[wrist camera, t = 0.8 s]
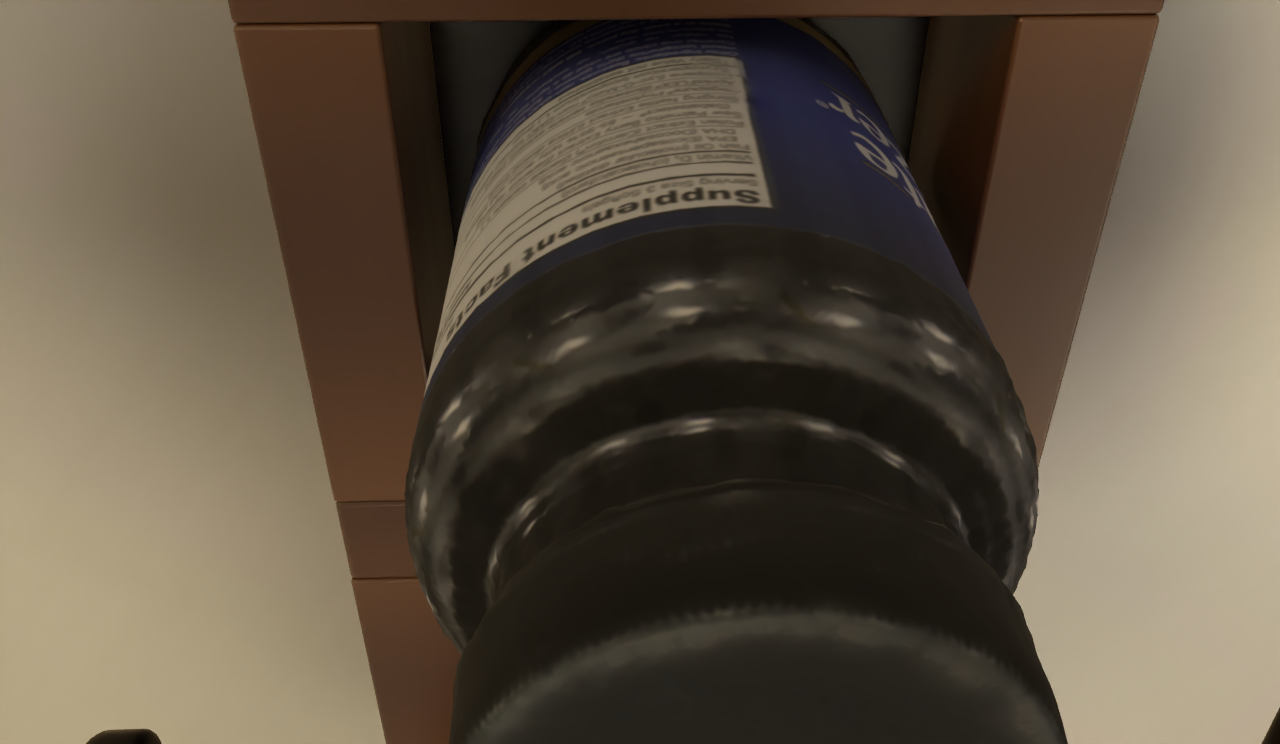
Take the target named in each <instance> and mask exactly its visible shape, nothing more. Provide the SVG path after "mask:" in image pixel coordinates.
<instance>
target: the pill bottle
mask: <svg viewBox="0 0 1280 744" xmlns="http://www.w3.org/2000/svg"><path fill="white" fill-rule="evenodd" d="M1036 452H1037V449H1036V445H1035V441H1034V438H1033V435H1032V433H1031V431H1030V429H1029V426H1028V424H1027V421H1026V416H1025V410H1024V407H1023V404H1022V402H1021V400H1020V398H1019V396H1018V395H1017V394H1016V391H1015V388H1014V385H1013V381H1012V379H1011V377H1010V376H1009V373H1008V370H1007V367H1006V365H1005V362H1004V360H1003V358H1002V357H1001V355H1000V353H999V352H997V350H996V348H995V346H994V344H993V342H992V340H991V338H990V336H989V334H988V332H987V330H986V327H985V325H984V323H983V321H982V319H981V317H980V315H979V313H978V311H977V308H976V306H975V304H974V302H973V300H972V298H971V296H970V294H969V292H968V290H967V288H966V286H965V284H964V282H963V280H962V278H961V276H960V274H959V271H958V269H957V267H956V265H955V263H954V260H953V258H952V256H951V254H950V252H949V249H948V247H947V245H946V244H945V242H944V240H943V238H942V236H941V234H940V232H939V230H938V228H937V226H936V224H935V221H934V219H933V217H932V215H931V213H930V211H929V209H928V207H927V205H926V202H925V200H924V197H923V194H922V193H921V192H920V190H919V188H918V186H917V184H916V182H915V180H914V178H913V176H912V174H911V172H910V170H909V168H908V166H907V164H906V161H905V159H904V157H903V155H902V153H901V151H900V149H899V147H898V145H897V143H896V141H895V139H894V137H893V135H892V133H891V131H890V129H889V127H888V125H887V122H886V120H885V118H884V116H883V114H882V112H881V110H880V108H879V106H878V104H877V102H876V100H875V98H874V96H873V94H872V92H871V90H870V89H869V87H868V85H867V83H866V82H865V80H864V78H863V77H862V75H861V73H860V72H859V70H858V68H857V67H856V65H855V63H854V61H853V60H852V58H851V57H850V55H849V54H848V53H847V52H846V50H845V49H844V48H843V47H842V46H841V45H840V44H838V43H837V42H836V41H835V40H834V39H833V38H832V37H831V36H830V35H829V34H827V33H826V32H825V31H823V30H821V29H820V28H818V27H816V26H815V25H813V24H811V23H810V22H808V21H806V20H805V19H801V18H724V19H629V20H558V21H557V22H556V23H555V24H554V25H553V26H552V27H551V28H550V29H548V30H547V31H546V32H545V33H544V34H542V35H541V36H540V37H539V38H537V39H536V40H535V41H534V42H533V43H531V44H530V45H529V46H528V47H527V48H526V49H525V50H524V52H523V53H522V54H521V55H520V56H519V58H518V59H517V60H516V61H515V63H514V65H513V66H512V68H511V69H510V71H509V73H508V75H507V76H506V78H505V80H504V82H503V83H502V85H501V87H500V88H499V90H498V92H497V94H496V96H495V98H494V100H493V102H492V104H491V106H490V108H489V110H488V112H487V114H486V116H485V118H484V120H483V123H482V126H481V129H480V133H479V136H478V142H477V151H476V158H475V162H474V166H473V170H472V175H471V179H470V184H469V189H468V193H467V198H466V202H465V207H464V211H463V216H462V220H461V224H460V229H459V234H458V239H457V244H456V249H455V253H454V258H453V263H452V268H451V273H450V277H449V282H448V287H447V292H446V297H445V301H444V306H443V311H442V316H441V320H440V325H439V330H438V334H437V339H436V343H435V348H434V353H433V357H432V362H431V366H430V371H429V375H428V379H427V383H426V390H425V394H424V398H423V402H422V407H421V411H420V416H419V420H418V424H417V428H416V433H415V436H414V440H413V444H412V451H411V457H410V461H409V468H408V472H407V474H406V490H405V493H404V495H405V518H406V528H407V538H408V542H409V549H410V554H411V556H412V559H413V563H414V567H415V572H416V575H417V577H418V580H419V584H420V588H421V590H422V591H423V593H424V595H425V598H426V600H427V602H428V603H429V605H430V607H431V610H432V612H433V614H434V616H435V618H436V620H437V622H438V624H439V625H440V627H441V629H442V632H443V634H444V635H445V636H446V637H448V638H449V639H450V640H451V641H452V642H453V644H454V645H455V647H456V648H457V649H458V651H459V653H460V654H461V657H460V660H459V662H458V664H457V669H456V676H455V681H454V685H453V711H452V718H451V726H450V736H449V744H1068V743H1067V739H1066V735H1065V731H1064V727H1063V723H1062V720H1061V716H1060V712H1059V709H1058V705H1057V702H1056V699H1055V697H1054V694H1053V691H1052V688H1051V686H1050V683H1049V681H1048V679H1047V677H1046V675H1045V673H1044V670H1043V668H1042V665H1041V663H1040V661H1039V658H1038V656H1037V654H1036V650H1035V646H1034V642H1033V638H1032V635H1031V633H1030V631H1029V629H1028V627H1027V625H1026V621H1025V618H1024V614H1023V611H1022V609H1021V607H1020V605H1019V604H1018V602H1017V601H1016V599H1015V598H1014V596H1013V594H1014V592H1015V590H1016V588H1017V585H1018V582H1019V580H1020V578H1021V576H1022V574H1023V571H1024V569H1025V568H1026V564H1027V556H1028V554H1029V552H1030V549H1031V547H1032V539H1033V536H1034V534H1035V528H1036V520H1037V516H1038V514H1037V510H1038V509H1037V500H1038V494H1039V489H1038V466H1037V456H1036Z"/></svg>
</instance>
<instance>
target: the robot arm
mask: <svg viewBox="0 0 1280 744" xmlns="http://www.w3.org/2000/svg"><path fill="white" fill-rule="evenodd" d="M86 744H161V741H160V739H159V737H158V736H157V734H155V733H154V732H153V731H151V730H149V729H124V730H107V731H103V732H101V733H99V734H97V735H95V736H94V737H93V738H91V739H90V740H89V741H88V742H87V743H86ZM1262 744H1280V708H1279V710H1278V712H1277V714H1276V716H1275V718H1274V720H1273V722H1272V724H1271V726H1270V728H1269V730H1268V732H1267V734H1266V736H1265V738H1264V740H1263V742H1262Z"/></svg>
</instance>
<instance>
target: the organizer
mask: <svg viewBox="0 0 1280 744" xmlns="http://www.w3.org/2000/svg"><path fill="white" fill-rule="evenodd" d="M228 3H229V8H230V13H231V17H232V19H233V21H234V22H235V23H236V24H235V26H234V32H235V37H236V42H237V47H238V51H239V56H240V61H241V65H242V70H243V75H244V79H245V84H246V89H247V93H248V98H249V103H250V107H251V112H252V117H253V122H254V126H255V131H256V136H257V140H258V145H259V150H260V154H261V159H262V164H263V168H264V173H265V178H266V182H267V187H268V192H269V197H270V201H271V206H272V211H273V215H274V220H275V225H276V229H277V234H278V239H279V243H280V248H281V253H282V257H283V262H284V267H285V272H286V276H287V281H288V286H289V290H290V295H291V300H292V304H293V309H294V314H295V318H296V323H297V328H298V332H299V337H300V342H301V347H302V351H303V356H304V361H305V365H306V370H307V375H308V379H309V384H310V389H311V393H312V398H313V403H314V407H315V412H316V417H317V422H318V426H319V431H320V436H321V440H322V445H323V450H324V454H325V459H326V464H327V468H328V473H329V478H330V482H331V487H332V492H333V497H334V500H335V501H337V502H336V507H337V512H338V516H339V521H340V526H341V530H342V535H343V540H344V544H345V549H346V554H347V559H348V563H349V568H350V572H351V575H352V586H353V591H354V596H355V600H356V605H357V610H358V614H359V619H360V624H361V628H362V633H363V638H364V642H365V647H366V652H367V656H368V661H369V666H370V670H371V675H372V680H373V685H374V689H375V694H376V699H377V703H378V708H379V713H380V717H381V722H382V727H383V731H384V736H385V741H386V744H449V736H450V726H451V718H452V711H453V685H454V681H455V676H456V669H457V664H458V662H459V660H460V657H461V654H460V653H459V651H458V649H457V648H456V647H455V645H454V644H453V642H452V641H451V640H450V639H449V638H448V637H446V636H445V635H444V634H443V632H442V629H441V627H440V625H439V624H438V622H437V620H436V618H435V616H434V614H433V612H432V610H431V607H430V605H429V603H428V602H427V600H426V598H425V595H424V593H423V591H422V590H421V588H420V584H419V580H418V577H417V575H416V572H415V567H414V563H413V559H412V556H411V554H410V549H409V542H408V538H407V528H406V518H405V495H404V493H405V490H406V474H407V472H408V468H409V461H410V457H411V451H412V444H413V440H414V436H415V433H416V428H417V424H418V420H419V416H420V411H421V407H422V402H423V398H424V394H425V390H426V383H427V379H428V375H429V371H430V366H431V362H432V357H433V353H434V348H435V343H436V339H437V334H438V330H439V325H440V320H441V316H442V311H443V306H444V301H445V297H446V292H447V287H448V282H449V277H450V273H451V268H452V263H453V258H454V253H455V252H454V243H453V234H452V225H451V215H450V206H449V197H448V188H447V179H446V170H445V161H444V152H443V143H442V134H441V125H440V116H439V107H438V98H437V89H436V80H435V71H434V62H433V53H432V44H431V34H430V25H429V22H440V21H534V20H629V19H724V18H819V17H913V16H930V20H929V27H928V33H927V40H926V46H925V53H924V60H923V66H922V73H921V80H920V86H919V93H918V100H917V106H916V113H915V119H914V126H913V133H912V139H911V146H910V153H909V159H908V168H909V170H910V172H911V174H912V176H913V178H914V180H915V182H916V184H917V186H918V188H919V190H920V192H921V193H922V194H923V197H924V200H925V202H926V205H927V207H928V209H929V211H930V213H931V215H932V217H933V219H934V221H935V224H936V226H937V228H938V230H939V232H940V234H941V236H942V238H943V240H944V242H945V244H946V245H947V247H948V249H949V252H950V254H951V256H952V258H953V260H954V263H955V265H956V267H957V269H958V271H959V274H960V276H961V278H962V280H963V282H964V284H965V286H966V288H967V290H968V292H969V294H970V296H971V298H972V300H973V302H974V304H975V306H976V308H977V311H978V313H979V315H980V317H981V319H982V321H983V323H984V325H985V327H986V330H987V332H988V334H989V336H990V338H991V340H992V342H993V344H994V346H995V348H996V350H997V352H999V353H1000V355H1001V357H1002V358H1003V360H1004V362H1005V365H1006V367H1007V370H1008V373H1009V376H1010V377H1011V379H1012V381H1013V385H1014V388H1015V391H1016V394H1017V395H1018V396H1019V398H1020V400H1021V402H1022V404H1023V407H1024V410H1025V416H1026V421H1027V424H1028V426H1029V429H1030V431H1031V433H1032V435H1033V438H1034V441H1035V445H1036V449H1037V452H1036V456H1037V466H1039V463H1040V459H1041V455H1042V451H1043V448H1044V444H1045V440H1046V437H1047V433H1048V429H1049V426H1050V422H1051V418H1052V414H1053V411H1054V407H1055V403H1056V400H1057V396H1058V392H1059V389H1060V385H1061V381H1062V378H1063V374H1064V370H1065V366H1066V363H1067V359H1068V355H1069V352H1070V348H1071V344H1072V341H1073V337H1074V333H1075V329H1076V326H1077V322H1078V318H1079V315H1080V311H1081V307H1082V304H1083V300H1084V296H1085V293H1086V289H1087V285H1088V281H1089V278H1090V274H1091V270H1092V267H1093V263H1094V259H1095V256H1096V252H1097V248H1098V245H1099V241H1100V237H1101V233H1102V230H1103V226H1104V222H1105V219H1106V215H1107V211H1108V208H1109V204H1110V200H1111V196H1112V193H1113V189H1114V185H1115V182H1116V178H1117V174H1118V171H1119V167H1120V163H1121V160H1122V156H1123V152H1124V148H1125V145H1126V141H1127V137H1128V134H1129V130H1130V126H1131V123H1132V119H1133V115H1134V111H1135V108H1136V104H1137V100H1138V97H1139V93H1140V89H1141V86H1142V82H1143V78H1144V75H1145V71H1146V67H1147V63H1148V60H1149V56H1150V52H1151V49H1152V45H1153V41H1154V38H1155V34H1156V30H1157V27H1158V23H1159V16H1158V15H1157V13H1160V12H1161V10H1162V7H1163V3H1164V0H228Z"/></svg>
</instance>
